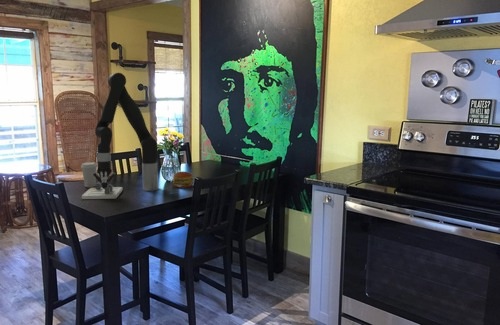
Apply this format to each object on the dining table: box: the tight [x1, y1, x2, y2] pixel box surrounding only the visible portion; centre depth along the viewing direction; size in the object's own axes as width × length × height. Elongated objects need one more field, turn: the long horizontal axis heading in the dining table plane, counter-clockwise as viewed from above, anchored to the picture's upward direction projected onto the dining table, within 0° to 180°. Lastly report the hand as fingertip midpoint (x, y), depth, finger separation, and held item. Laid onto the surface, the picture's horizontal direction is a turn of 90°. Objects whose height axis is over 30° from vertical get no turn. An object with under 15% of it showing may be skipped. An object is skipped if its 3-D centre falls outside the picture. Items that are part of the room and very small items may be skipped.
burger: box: [172, 171, 194, 189], centre depth 270 cm, size 14×14×10 cm
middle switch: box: [107, 183, 114, 191], centre depth 249 cm, size 2×3×4 cm
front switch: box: [105, 185, 110, 194], centre depth 243 cm, size 2×3×4 cm
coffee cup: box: [80, 161, 98, 188], centre depth 269 cm, size 10×10×15 cm
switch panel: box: [81, 186, 123, 200], centre depth 249 cm, size 19×20×2 cm
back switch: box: [95, 181, 102, 189], centre depth 254 cm, size 2×3×4 cm
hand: (104, 188), depth 248 cm, fingers closed
